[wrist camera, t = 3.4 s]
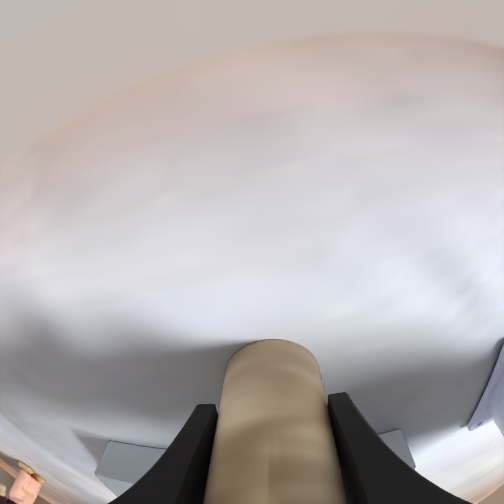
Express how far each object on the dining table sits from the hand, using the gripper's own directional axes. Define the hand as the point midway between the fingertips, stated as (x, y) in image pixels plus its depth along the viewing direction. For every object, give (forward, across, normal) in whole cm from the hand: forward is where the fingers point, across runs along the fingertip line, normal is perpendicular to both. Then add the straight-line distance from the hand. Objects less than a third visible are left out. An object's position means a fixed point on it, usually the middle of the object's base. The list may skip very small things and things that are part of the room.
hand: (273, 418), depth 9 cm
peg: (+2, 0, 0) cm, 2 cm away
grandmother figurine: (+3, +32, +21) cm, 38 cm away
